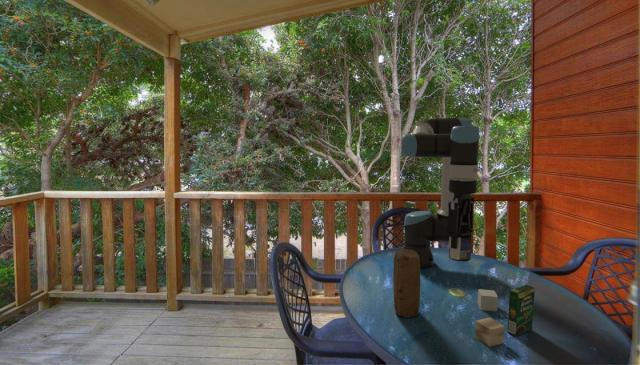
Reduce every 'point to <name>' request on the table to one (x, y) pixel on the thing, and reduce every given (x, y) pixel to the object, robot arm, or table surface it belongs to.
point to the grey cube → (487, 300)
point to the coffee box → (521, 310)
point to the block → (406, 282)
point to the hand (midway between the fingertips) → (459, 255)
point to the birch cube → (489, 331)
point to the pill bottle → (464, 243)
